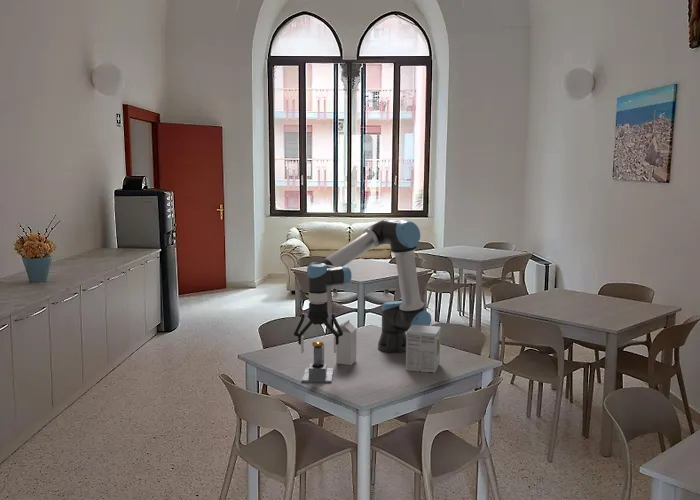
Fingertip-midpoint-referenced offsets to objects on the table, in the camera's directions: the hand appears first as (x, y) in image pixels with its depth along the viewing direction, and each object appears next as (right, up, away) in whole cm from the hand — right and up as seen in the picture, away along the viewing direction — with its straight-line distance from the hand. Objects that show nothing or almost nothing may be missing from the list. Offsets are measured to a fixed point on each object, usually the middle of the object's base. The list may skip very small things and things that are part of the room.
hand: (318, 352), depth 260 cm
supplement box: (+45, -10, +15) cm, 49 cm away
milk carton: (+11, -8, +22) cm, 26 cm away
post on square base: (0, -11, +3) cm, 11 cm away
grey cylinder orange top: (0, -10, +1) cm, 10 cm away
